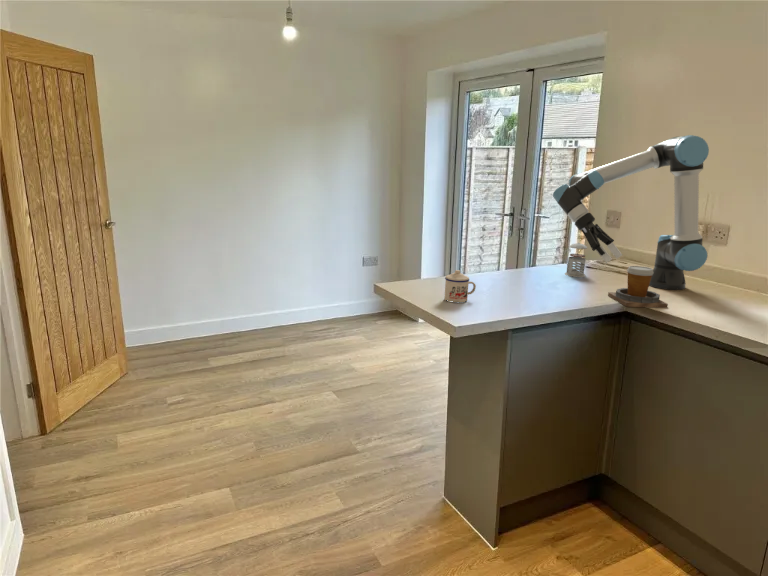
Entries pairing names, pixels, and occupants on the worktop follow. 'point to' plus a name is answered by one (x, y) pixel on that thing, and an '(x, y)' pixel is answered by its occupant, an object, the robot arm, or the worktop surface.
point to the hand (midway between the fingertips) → (614, 259)
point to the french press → (576, 262)
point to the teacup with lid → (457, 287)
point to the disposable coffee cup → (639, 280)
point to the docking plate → (634, 304)
